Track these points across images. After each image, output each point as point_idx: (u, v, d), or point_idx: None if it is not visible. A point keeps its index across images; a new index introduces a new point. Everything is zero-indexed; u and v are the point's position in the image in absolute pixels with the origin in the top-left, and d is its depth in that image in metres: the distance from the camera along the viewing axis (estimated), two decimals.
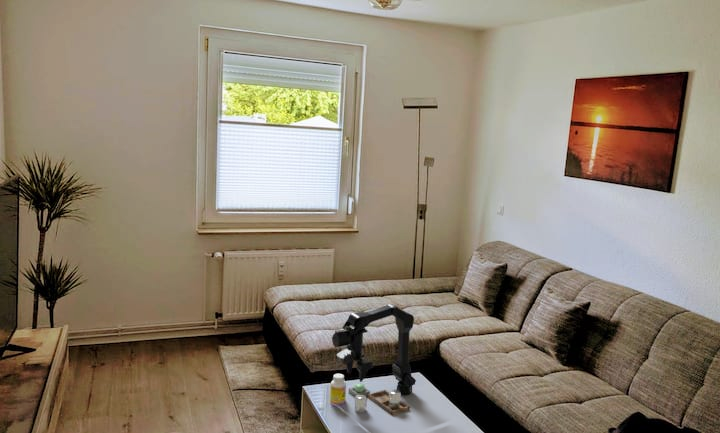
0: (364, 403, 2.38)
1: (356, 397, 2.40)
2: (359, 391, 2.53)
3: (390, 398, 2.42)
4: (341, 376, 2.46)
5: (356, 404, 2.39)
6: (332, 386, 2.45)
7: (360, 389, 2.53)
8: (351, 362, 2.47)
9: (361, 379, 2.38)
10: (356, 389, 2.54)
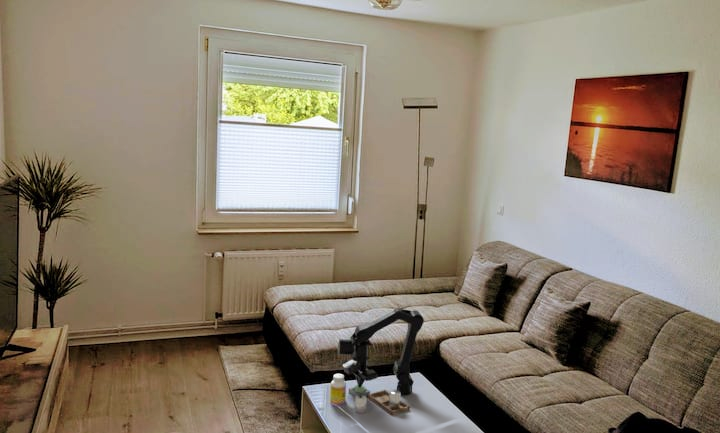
0: (364, 403, 2.38)
1: (356, 397, 2.40)
2: (359, 392, 2.54)
3: (390, 398, 2.42)
4: (341, 376, 2.46)
5: (356, 404, 2.39)
6: (332, 386, 2.45)
7: (360, 390, 2.53)
8: None
9: (360, 385, 2.55)
10: (356, 390, 2.54)
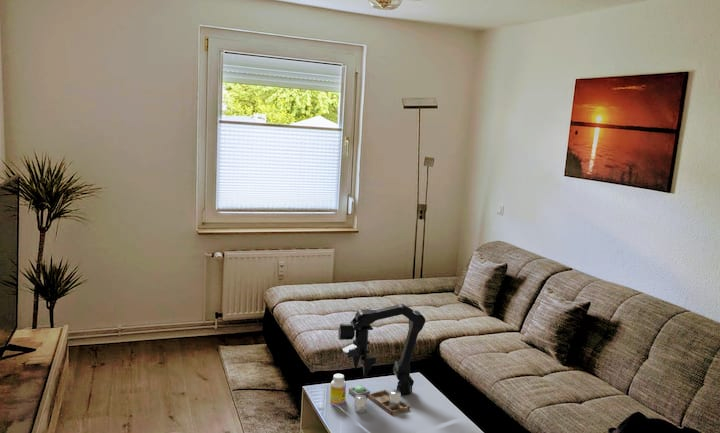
0: (364, 403, 2.38)
1: (356, 397, 2.40)
2: None
3: (390, 398, 2.42)
4: (341, 376, 2.46)
5: (356, 404, 2.39)
6: (332, 386, 2.45)
7: (360, 391, 2.54)
8: (358, 357, 2.57)
9: (365, 374, 2.48)
10: (356, 391, 2.54)
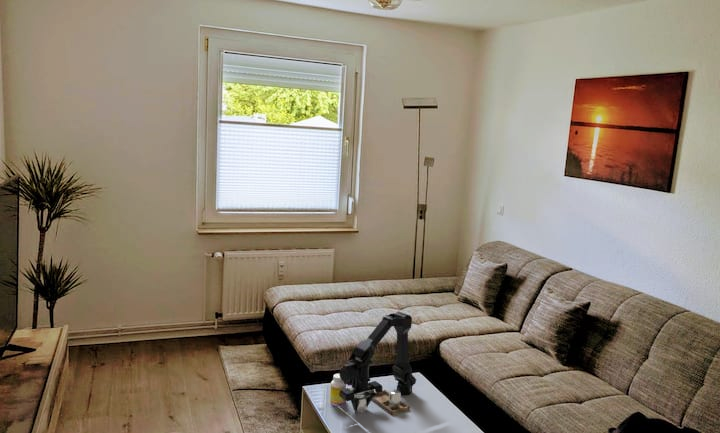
0: (364, 403, 2.38)
1: None
2: None
3: (390, 398, 2.42)
4: None
5: None
6: (332, 386, 2.45)
7: None
8: (368, 398, 2.41)
9: (354, 408, 2.39)
10: None
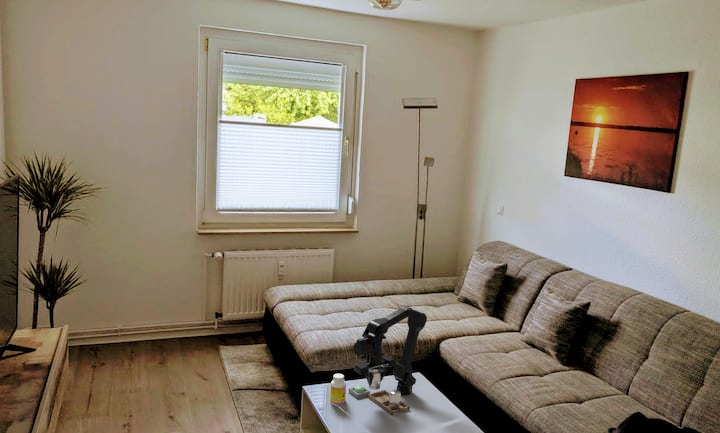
0: (378, 377, 2.43)
1: None
2: None
3: (390, 398, 2.42)
4: (341, 376, 2.46)
5: None
6: (332, 386, 2.45)
7: (360, 391, 2.54)
8: (382, 373, 2.45)
9: (368, 382, 2.44)
10: (356, 391, 2.54)
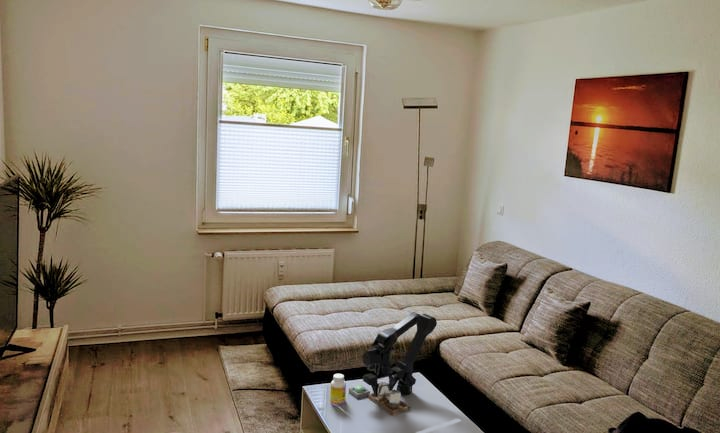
0: (386, 390, 2.49)
1: (379, 384, 2.50)
2: None
3: (390, 398, 2.42)
4: (341, 376, 2.46)
5: (379, 391, 2.49)
6: (332, 386, 2.45)
7: (360, 391, 2.54)
8: (392, 383, 2.52)
9: (374, 393, 2.48)
10: (356, 391, 2.54)
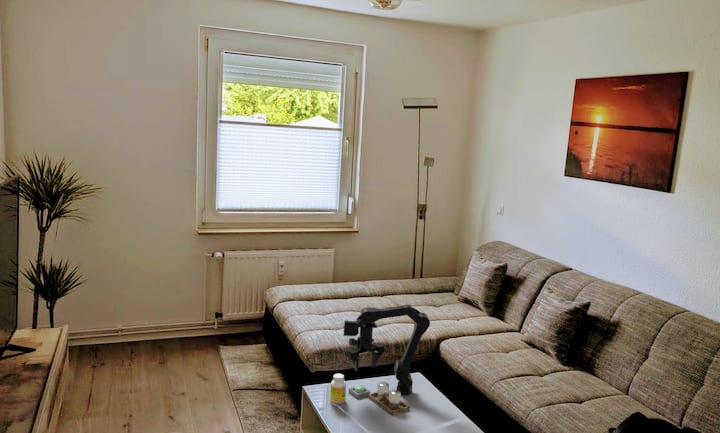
0: (386, 389, 2.49)
1: (378, 384, 2.50)
2: None
3: (390, 398, 2.42)
4: (341, 376, 2.46)
5: (379, 391, 2.49)
6: (332, 386, 2.45)
7: (360, 391, 2.54)
8: (375, 358, 2.58)
9: (355, 368, 2.54)
10: (356, 391, 2.54)
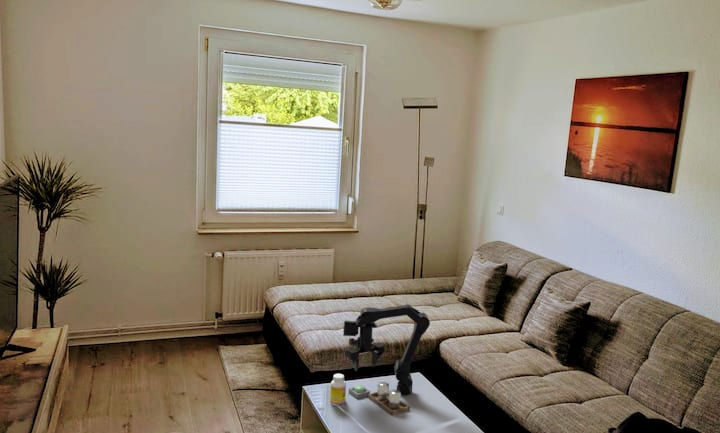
0: (386, 389, 2.49)
1: (379, 384, 2.50)
2: None
3: (390, 398, 2.42)
4: (341, 376, 2.46)
5: (379, 390, 2.49)
6: (332, 386, 2.45)
7: (360, 391, 2.54)
8: (375, 358, 2.58)
9: (355, 368, 2.54)
10: (356, 391, 2.54)
